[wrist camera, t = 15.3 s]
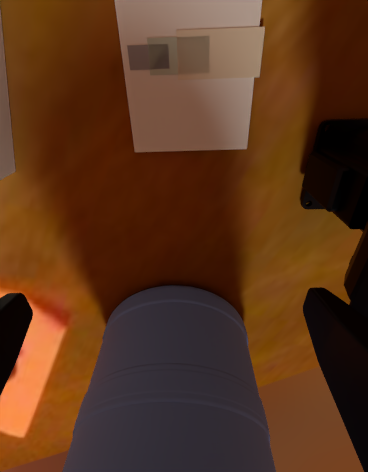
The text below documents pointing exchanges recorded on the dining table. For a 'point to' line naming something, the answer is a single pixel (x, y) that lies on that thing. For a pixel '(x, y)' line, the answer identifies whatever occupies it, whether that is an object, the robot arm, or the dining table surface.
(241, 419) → the water jug
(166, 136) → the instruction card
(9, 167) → the tower base
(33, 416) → the dining table surface
